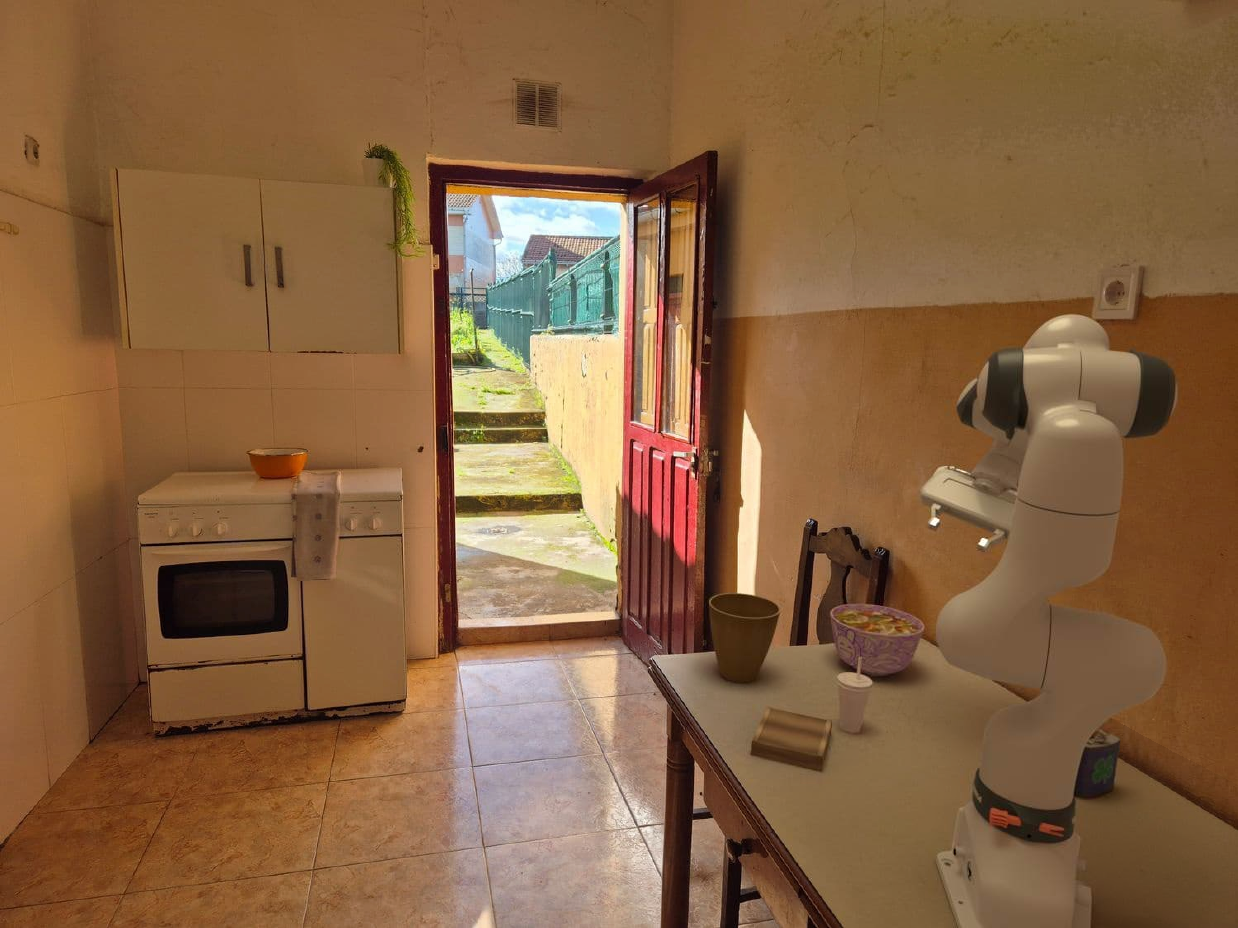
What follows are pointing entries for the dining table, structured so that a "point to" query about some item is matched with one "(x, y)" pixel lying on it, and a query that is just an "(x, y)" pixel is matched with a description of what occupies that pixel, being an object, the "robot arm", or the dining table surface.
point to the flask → (1097, 766)
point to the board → (792, 738)
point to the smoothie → (852, 698)
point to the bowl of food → (875, 637)
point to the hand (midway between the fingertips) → (955, 538)
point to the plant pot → (742, 633)
